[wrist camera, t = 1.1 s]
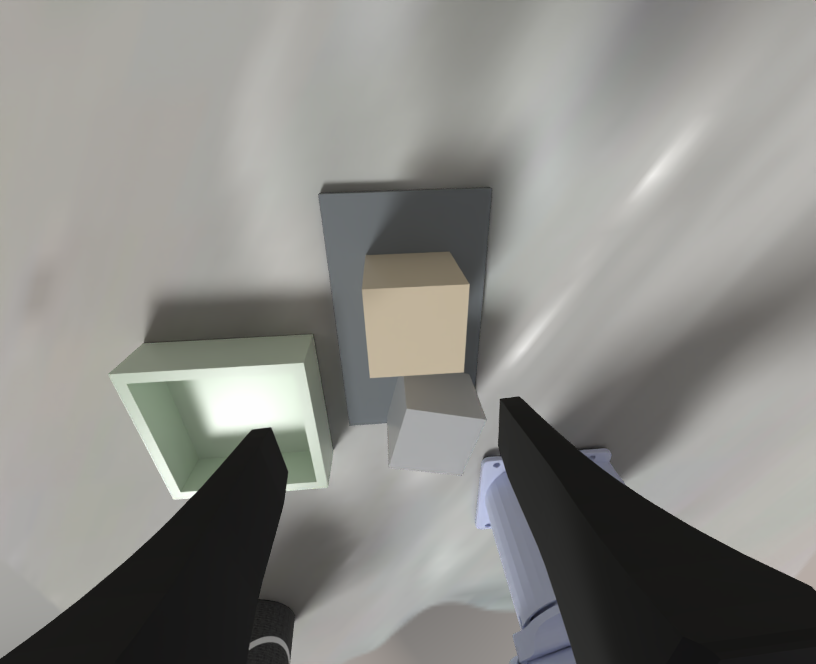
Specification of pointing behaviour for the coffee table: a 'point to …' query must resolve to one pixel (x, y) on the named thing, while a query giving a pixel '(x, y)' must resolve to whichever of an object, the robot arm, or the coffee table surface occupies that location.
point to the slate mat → (398, 234)
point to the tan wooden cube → (414, 314)
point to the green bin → (227, 405)
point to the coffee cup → (271, 634)
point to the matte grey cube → (434, 423)
